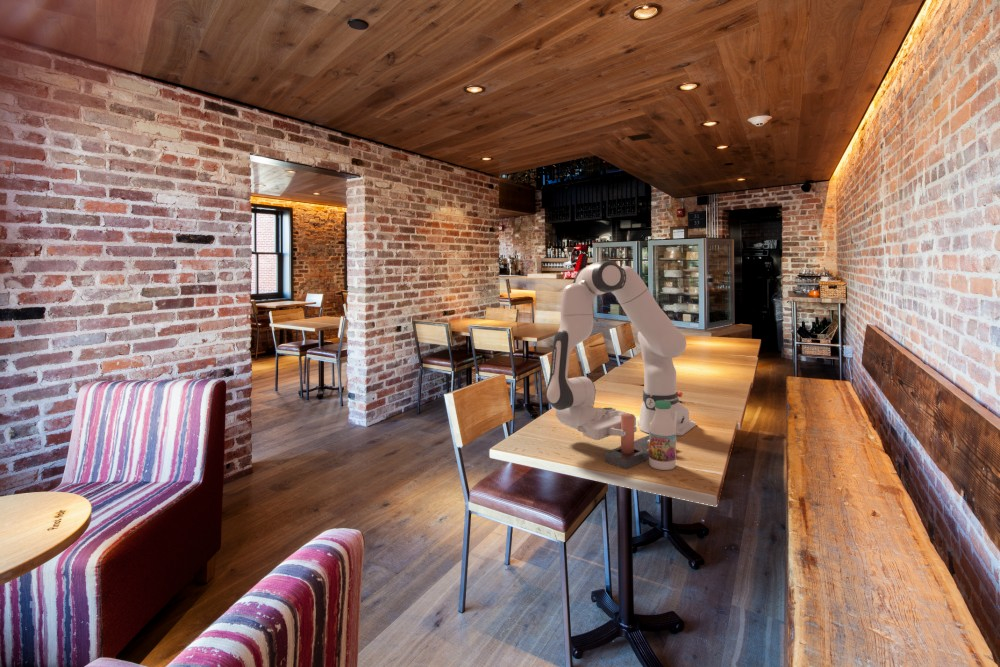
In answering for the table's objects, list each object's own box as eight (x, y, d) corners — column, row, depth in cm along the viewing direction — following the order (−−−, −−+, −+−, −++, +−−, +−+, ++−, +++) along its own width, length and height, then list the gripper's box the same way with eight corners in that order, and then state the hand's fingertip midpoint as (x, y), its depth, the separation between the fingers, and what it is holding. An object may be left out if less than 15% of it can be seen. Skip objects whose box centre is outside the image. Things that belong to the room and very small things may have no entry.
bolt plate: (652, 442, 169) (652, 416, 167) (673, 448, 162) (673, 422, 161) (605, 461, 153) (605, 433, 152) (626, 469, 147) (626, 440, 146)
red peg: (626, 449, 156) (626, 412, 155) (636, 452, 153) (637, 415, 152) (618, 452, 154) (618, 415, 152) (628, 455, 151) (629, 418, 149)
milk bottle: (648, 459, 154) (649, 397, 151) (674, 461, 152) (675, 399, 149) (648, 469, 146) (649, 404, 144) (676, 472, 144) (677, 406, 142)
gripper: (573, 419, 156) (608, 429, 145) (615, 406, 168) (649, 415, 158) (574, 438, 157) (608, 449, 146) (615, 423, 169) (649, 433, 159)
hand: (630, 431), depth 152 cm, fingers closed on red peg, 4 cm apart
